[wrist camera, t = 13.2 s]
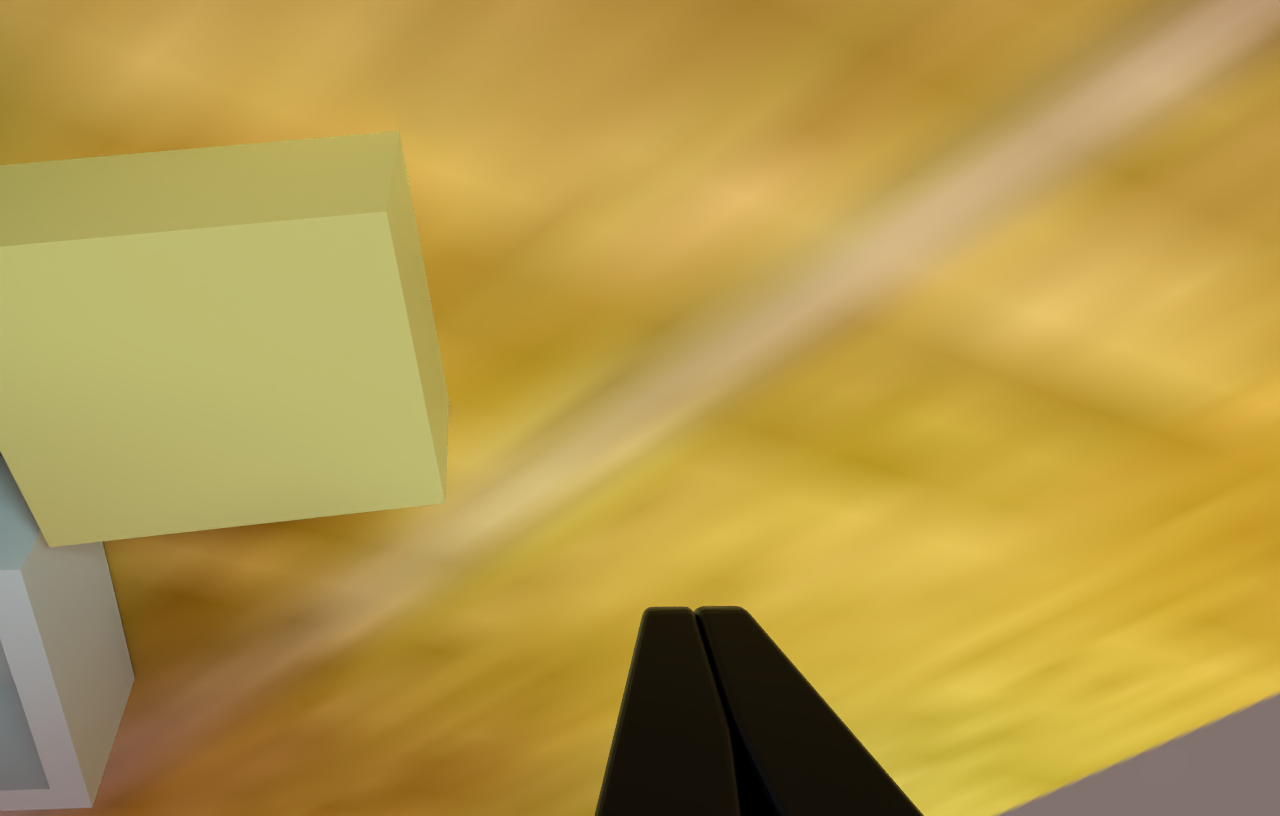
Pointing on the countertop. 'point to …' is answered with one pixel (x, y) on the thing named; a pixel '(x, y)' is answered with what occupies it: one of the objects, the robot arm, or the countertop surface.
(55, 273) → the chock
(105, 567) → the tray
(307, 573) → the countertop surface
